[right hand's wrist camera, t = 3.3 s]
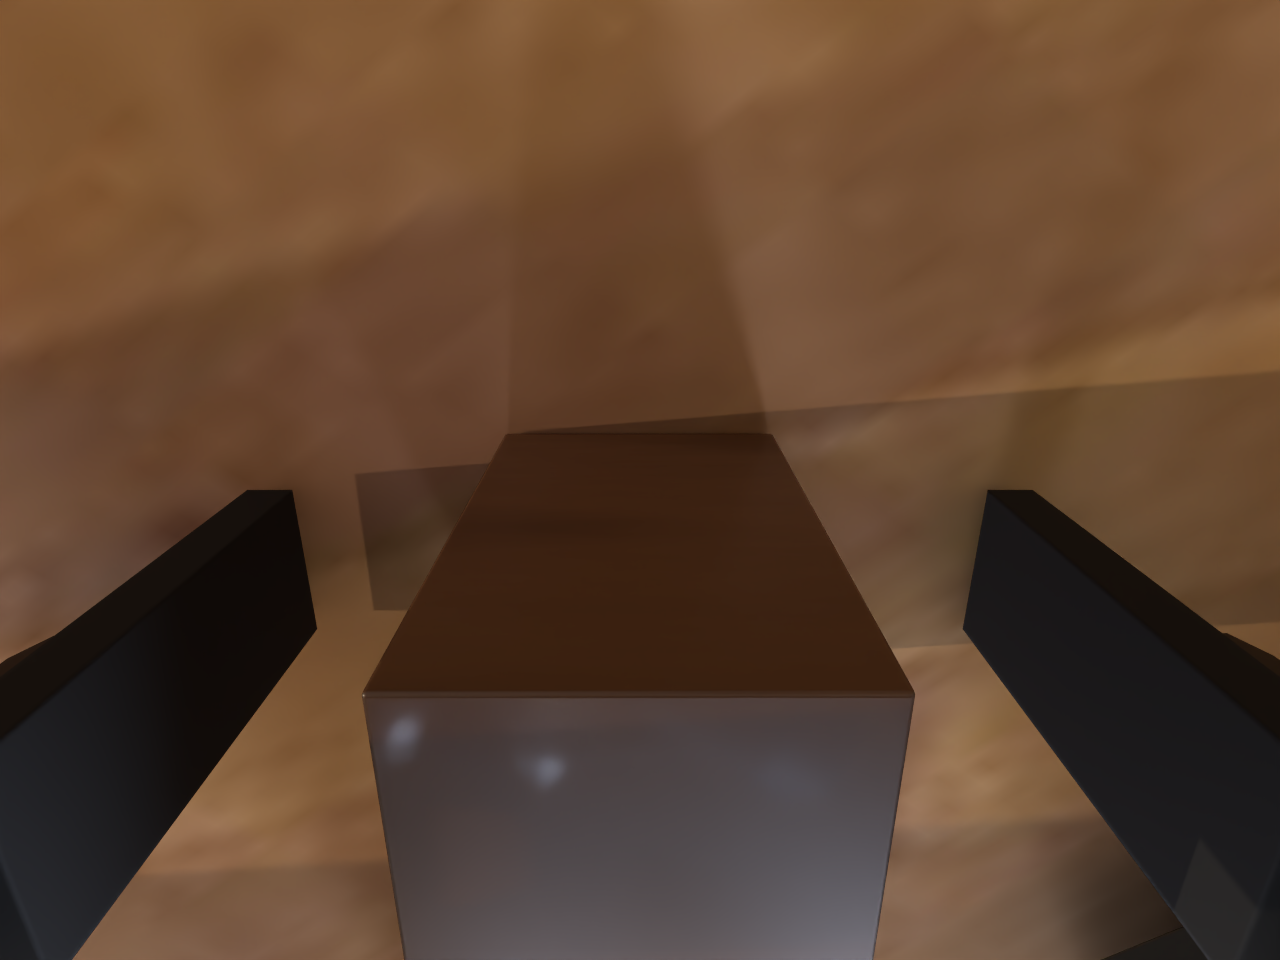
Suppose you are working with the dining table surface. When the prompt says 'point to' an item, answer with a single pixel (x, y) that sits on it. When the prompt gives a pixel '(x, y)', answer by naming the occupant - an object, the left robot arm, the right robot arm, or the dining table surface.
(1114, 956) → the pan
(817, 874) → the walnut block
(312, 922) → the dining table surface
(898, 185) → the dining table surface
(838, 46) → the dining table surface
